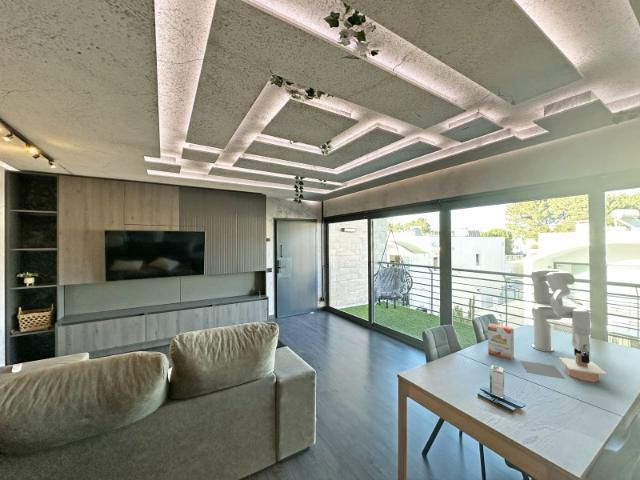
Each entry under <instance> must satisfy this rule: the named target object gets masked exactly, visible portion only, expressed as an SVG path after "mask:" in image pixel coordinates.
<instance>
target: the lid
mask: <svg viewBox="0 0 640 480" xmlns="http://www.w3.org/2000/svg"><path fill="white" fill-rule="evenodd" d="M581 355H582V354H579V353H576V356H575V358H568V357H560V356H559V357H558V359H559V360H560V361H561V363H562V364H564V366H565V367H566V366H567V368H568V369H569V370H575V371H581V372H587V373H594V374H599V376H607V377H608V375H609V374H608V373H607V372H606V371H605V370H603V369H602V368H601V367H600V366H599V365H597V364H596V362H594V361H589V363H583V362H582V358H581Z"/></svg>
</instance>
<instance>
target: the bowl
mask: <svg viewBox="0 0 640 480" xmlns="http://www.w3.org/2000/svg"><path fill="white" fill-rule="evenodd" d="M565 373H567V374H568V376H569V377H570V376H571V377H573V378H575V379H578V380H580V381H584V382H592V383H594V382H595V383H596V382H598V381H600V374H594V373H587V372H581V371H575V370H569V369H568V368H567V366H566V365H565Z"/></svg>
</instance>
